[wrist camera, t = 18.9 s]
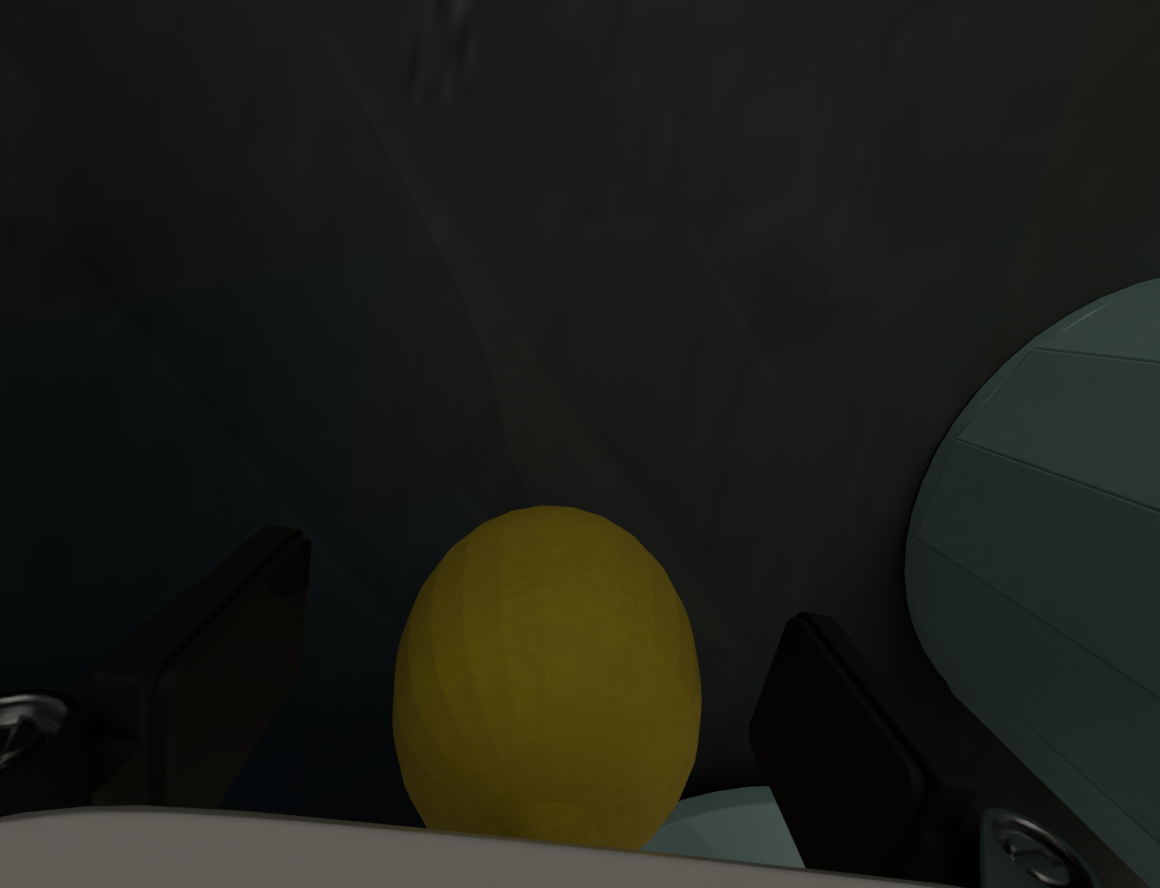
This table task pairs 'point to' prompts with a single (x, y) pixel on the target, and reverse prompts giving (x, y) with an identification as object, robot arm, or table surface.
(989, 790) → the table surface
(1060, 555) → the pot
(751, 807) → the lid
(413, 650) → the lemon
